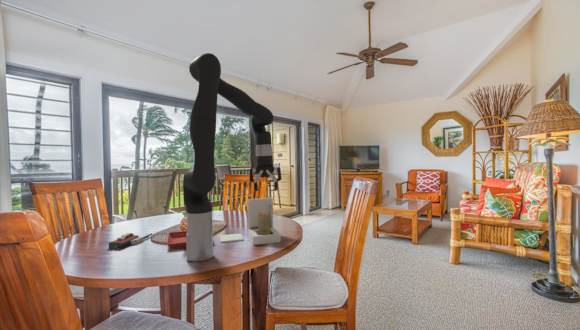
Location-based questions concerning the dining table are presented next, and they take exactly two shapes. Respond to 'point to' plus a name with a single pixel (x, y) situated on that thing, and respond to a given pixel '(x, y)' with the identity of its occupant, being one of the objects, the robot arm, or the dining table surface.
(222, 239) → the sage mat
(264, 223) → the shoe polish box
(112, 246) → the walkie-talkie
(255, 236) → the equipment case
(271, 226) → the rod
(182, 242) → the plant saucer
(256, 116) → the robot arm
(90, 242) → the dining table surface
